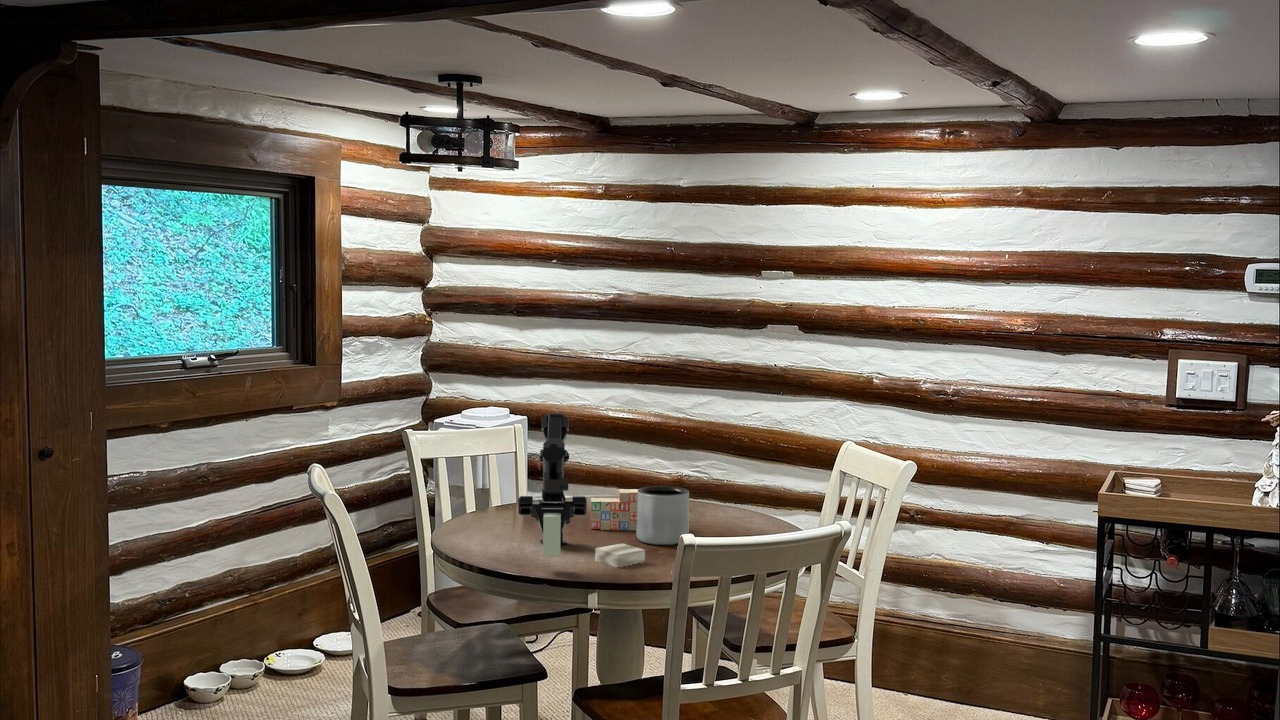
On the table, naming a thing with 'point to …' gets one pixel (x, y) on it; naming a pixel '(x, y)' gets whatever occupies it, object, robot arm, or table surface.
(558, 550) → the tall sage block
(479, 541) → the table surface
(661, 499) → the planter
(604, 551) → the cream base block
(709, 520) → the table surface
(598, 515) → the stack of blocks
